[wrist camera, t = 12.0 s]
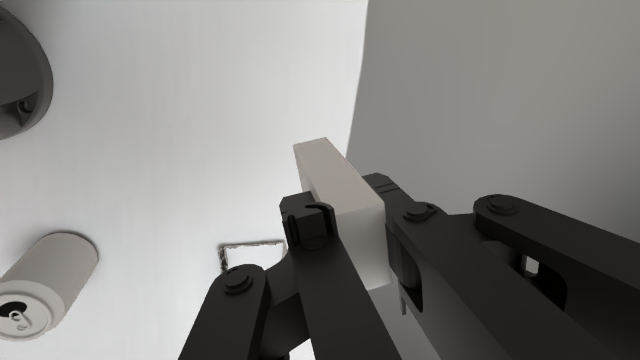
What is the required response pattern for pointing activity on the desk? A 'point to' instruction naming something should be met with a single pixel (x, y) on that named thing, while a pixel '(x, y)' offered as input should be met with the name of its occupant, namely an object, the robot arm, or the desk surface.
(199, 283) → the desk surface
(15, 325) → the can
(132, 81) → the desk surface
